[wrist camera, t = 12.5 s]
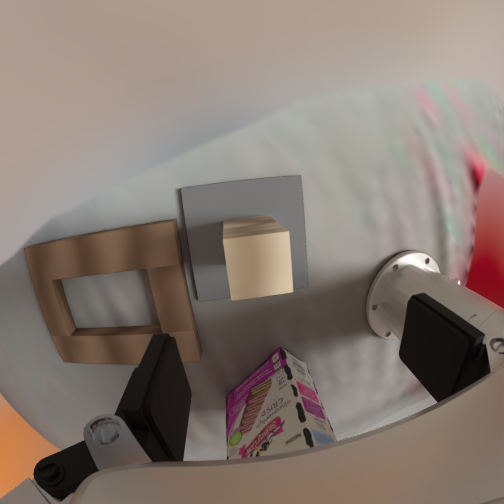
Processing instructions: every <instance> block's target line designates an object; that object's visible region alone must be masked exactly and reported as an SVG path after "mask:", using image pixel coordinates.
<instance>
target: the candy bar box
mask: <svg viewBox="0 0 504 504" xmlns="http://www.w3.org/2000/svg"><path fill="white" fill-rule="evenodd" d="M226 429H227V430H226V437H227V459H239V458H249V457H258V456H266V455H273V454H280V453H286V452H291V451H297V450H302V449H307V448H311V447H316V446H320V445H324V444H328V443H332V442H336V441H337V440H336V438H335V435H334V433H333V429H332V427H331V425H330V422H329V420H328V418H327V415H326V412H325V410H324V408H323V406H322V403H321V400H320V398H319V395H318V393H317V390H316V388H315V385H314V383H313V380H312V378H311V376H310V373H309V371H308V368H307V366H306V363H305V362H303V361H302V360H300V359H298V358H297V357H295V356H294V355H292V354H291V353H289V352H288V351H287V350H285V349H283V348H282V347H280V348H279V349H278V350H277V351H276V352H275V353H274V354H273V355H272V356H271V357H269V358H268V359H267V360H266V361H265V362H264V363H263V364H262V365H261V366H260V367H259V368H258V369H257V370H255V371H254V372H253V373H252V374H251V375H250V376H249V377H247V378H246V379H245V380H244V381H243V382H242V383H241V384H240V385H238V386H237V387H236V388H235V389H234V390H232V391H231V392H230V393H229V394H228V395H226Z"/></svg>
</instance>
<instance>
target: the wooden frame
mask: <svg viewBox="0 0 504 504" xmlns="http://www.w3.org/2000/svg"><path fill="white" fill-rule="evenodd" d="M24 251H25V256H26V260H27V264H28V268H29V271H30V275H31V279H32V282H33V285H34V289H35V292H36V295H37V298H38V301H39V304H40V307H41V310H42V313H43V315H44V318H45V321H46V323H47V326H48V328H49V331H50V333H51V336H52V338H53V340H54V343H55V345H56V347H57V349H58V352H59V354H60V356H61V358H62V360H63V362H69V363H87V364H140V362H141V360H142V358H143V355H144V353H145V351H146V349H147V347H148V344H149V342H150V340H151V338H152V336H153V334H162V333H168V334H169V335H170V337H175V339H176V343H177V346H178V350H179V353H180V357H181V360H182V362H196V361H201V355H202V350H201V346H200V342H199V337H198V333H197V329H196V324H195V320H194V315H193V310H192V306H191V301H190V296H189V291H188V286H187V280H186V275H185V270H184V264H183V258H182V253H181V247H180V241H179V234H178V228H177V221H176V219H172V220H166V221H159V222H153V223H146V224H140V225H134V226H128V227H122V228H116V229H111V230H105V231H99V232H94V233H89V234H83V235H78V236H73V237H68V238H63V239H58V240H53V241H49V242H44V243H39V244H35V245H32V246H29V247H27V248H25V249H24ZM139 269H147V273H148V277H149V282H150V286H151V290H152V295H153V299H154V303H155V307H156V310H157V314H158V318H159V322H160V325H149V326H133V327H113V328H78V329H77V328H76V325H75V323H74V320H73V317H72V314H71V311H70V309H69V306H68V303H67V299H66V296H65V293H64V290H63V286H62V283H61V279H64V278H73V277H81V276H89V275H98V274H106V273H115V272H123V271H131V270H139Z"/></svg>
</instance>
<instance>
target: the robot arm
mask: <svg viewBox="0 0 504 504" xmlns="http://www.w3.org/2000/svg"><path fill="white" fill-rule="evenodd" d="M366 316H367V320H368V323H369V325H370V327H371V328H372V329H373V330H374V332H375V333H376V334H378V335H379V336H380V337H382V338H384V339H390V340H394V339H399V340H400V341H401V345H400V350H399V356H400V359H401V360H402V362H403V363H404V364H405V365H406V366H407V367H408V368H409V370H410V371H411V372H412V373H413V374H414V375H415V376H416V378H417V379H418V380H419V381H420V382H421V383H422V385H423V386H424V387H425V388H426V389H427V391H428V392H429V393H430V394H431V395H432V396H433V397H434V399H435V400H436V401H437V402H438V403H436V404H434V405H433V406H431V407H429V408H426V409H424V410H422V411H420V412H418V413H415V414H413V415H411V416H409V417H406V418H404V419H401V420H399V421H396V422H394V423H391V424H389V425H386V426H383V427H381V428H378V429H375V430H372V431H369V432H366V433H363V434H360V435H357V436H353V437H350V438H347V439H343V440H339V441H336V442H332V443H328V444H324V445H320V446H316V447H311V448H307V449H302V450H297V451H291V452H286V453H280V454H273V455H266V456H258V457H249V458H239V459H227V460H209V461H183V458H184V449H185V441H186V433H187V426H188V418H189V411H190V404H191V389H190V386H189V383H188V380H187V377H186V373H185V370H184V367H183V364H182V360H181V357H180V353H179V350H178V346H177V343H176V339H175V337H170V335H169V334H168V333H162V334H153V336H152V338H151V340H150V342H149V344H148V347H147V349H146V351H145V353H144V355H143V358H142V360H141V362H140V364H139V367H138V368H135V370H134V371H133V373H132V375H131V378H130V380H129V382H128V384H127V387H126V389H125V391H124V394H123V396H122V398H121V401H120V403H119V405H118V408H117V410H116V413H115V415H111V414H104V415H100V416H97V417H95V418H93V419H91V420H90V421H89V422H88V423H87V424H86V426H85V428H84V432H83V436H84V441H82V442H79V443H77V444H75V445H73V446H71V447H69V448H66V449H64V450H62V451H60V452H57V453H55V454H53V455H50V456H48V457H45V458H44V459H42V460H40V461H39V462H38V463H37V464H36V466H35V469H34V479H33V480H31V479H30V478H27V479H26V480H25V481H23V482H22V483H21V484H19V485H18V486H17V487H16V488H14V489H13V490H11V491H10V492H9V493H8V494H6V495H5V496H3V497H2V498H1V499H0V504H504V309H503V308H501V307H499V306H498V305H496V304H494V303H492V302H490V301H489V300H487V299H485V298H483V297H482V296H480V295H478V294H477V293H475V292H473V291H471V290H469V289H468V288H466V287H464V286H462V285H460V281H459V280H458V279H457V278H455V279H452V280H451V279H449V278H447V277H445V276H443V275H441V274H440V271H439V268H438V265H437V264H436V262H435V260H434V259H433V258H432V257H431V256H429V255H427V254H426V253H423V252H421V251H416V250H411V251H405V252H403V253H400V254H398V255H397V256H395V257H393V258H392V259H391V260H390V261H388V262H387V263H386V264H385V265H384V266H383V268H382V269H381V270H380V271H379V272H378V274H377V276H376V277H375V279H374V281H373V283H372V285H371V287H370V290H369V293H368V297H367V302H366Z"/></svg>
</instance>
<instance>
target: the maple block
mask: <svg viewBox="0 0 504 504" xmlns="http://www.w3.org/2000/svg"><path fill="white" fill-rule="evenodd" d="M223 245H224V252H225V259H226V266H227V273H228V280H229V287H230V294H231V301H234V300H242V299H249V298H257V297H264V296H271V295H278V294H284V293H291V292H293V280H292V264H291V250H290V236H289V231H288V230H287V229H286V228H284V227H283V226H282V225H281V224H279V223H278V222H277V221H275V220H274V219H273V218H272V217H270V216H269V215H266V216H257V217H249V218H240V219H232V220H224V223H223Z"/></svg>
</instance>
